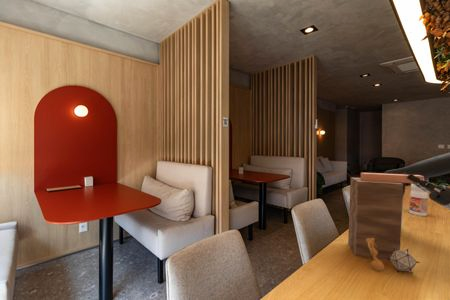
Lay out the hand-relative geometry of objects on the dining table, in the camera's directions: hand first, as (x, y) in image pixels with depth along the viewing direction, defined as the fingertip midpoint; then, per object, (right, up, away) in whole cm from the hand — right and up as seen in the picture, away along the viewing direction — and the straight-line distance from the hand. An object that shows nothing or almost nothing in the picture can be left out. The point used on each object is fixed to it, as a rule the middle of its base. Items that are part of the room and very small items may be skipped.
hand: (406, 175), depth 95 cm
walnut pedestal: (-12, -35, +4) cm, 37 cm away
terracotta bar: (-5, -3, +2) cm, 6 cm away
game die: (-9, -35, -10) cm, 38 cm away
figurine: (-19, -35, -9) cm, 41 cm away
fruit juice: (+56, -34, +60) cm, 88 cm away
